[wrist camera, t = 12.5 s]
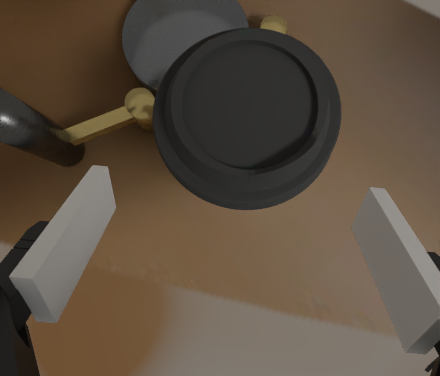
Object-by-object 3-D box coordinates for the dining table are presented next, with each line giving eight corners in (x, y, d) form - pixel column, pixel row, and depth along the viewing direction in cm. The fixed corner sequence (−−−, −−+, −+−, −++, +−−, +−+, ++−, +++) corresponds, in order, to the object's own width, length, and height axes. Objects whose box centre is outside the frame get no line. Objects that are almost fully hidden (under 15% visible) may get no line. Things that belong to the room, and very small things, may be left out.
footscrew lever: (156, 100, 27) (122, 30, 18) (168, 128, 27) (139, 73, 17) (48, 142, 27) (-49, 94, 17) (58, 172, 27) (-35, 139, 17)
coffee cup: (166, 152, 27) (101, 60, 12) (249, 104, 28) (283, -39, 13) (216, 237, 26) (212, 250, 11) (301, 185, 27) (405, 132, 12)
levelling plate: (288, 31, 29) (294, 15, 26) (239, 134, 27) (241, 126, 25) (141, -31, 30) (135, -51, 27) (86, 66, 28) (75, 52, 26)
